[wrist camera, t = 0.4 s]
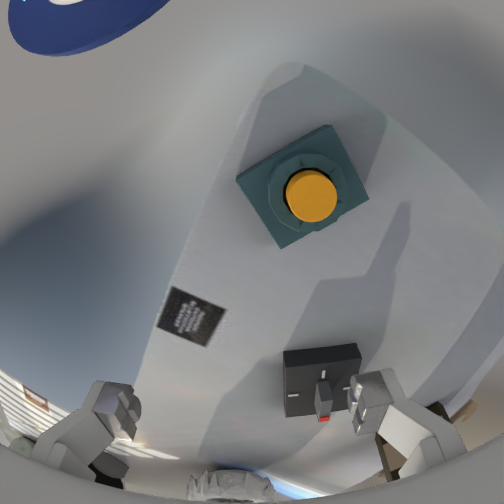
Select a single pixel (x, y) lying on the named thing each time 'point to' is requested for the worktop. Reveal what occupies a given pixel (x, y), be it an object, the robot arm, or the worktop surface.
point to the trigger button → (311, 196)
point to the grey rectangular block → (323, 401)
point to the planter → (22, 446)
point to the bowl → (230, 487)
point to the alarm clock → (109, 470)
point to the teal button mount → (289, 164)
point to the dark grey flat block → (318, 376)
